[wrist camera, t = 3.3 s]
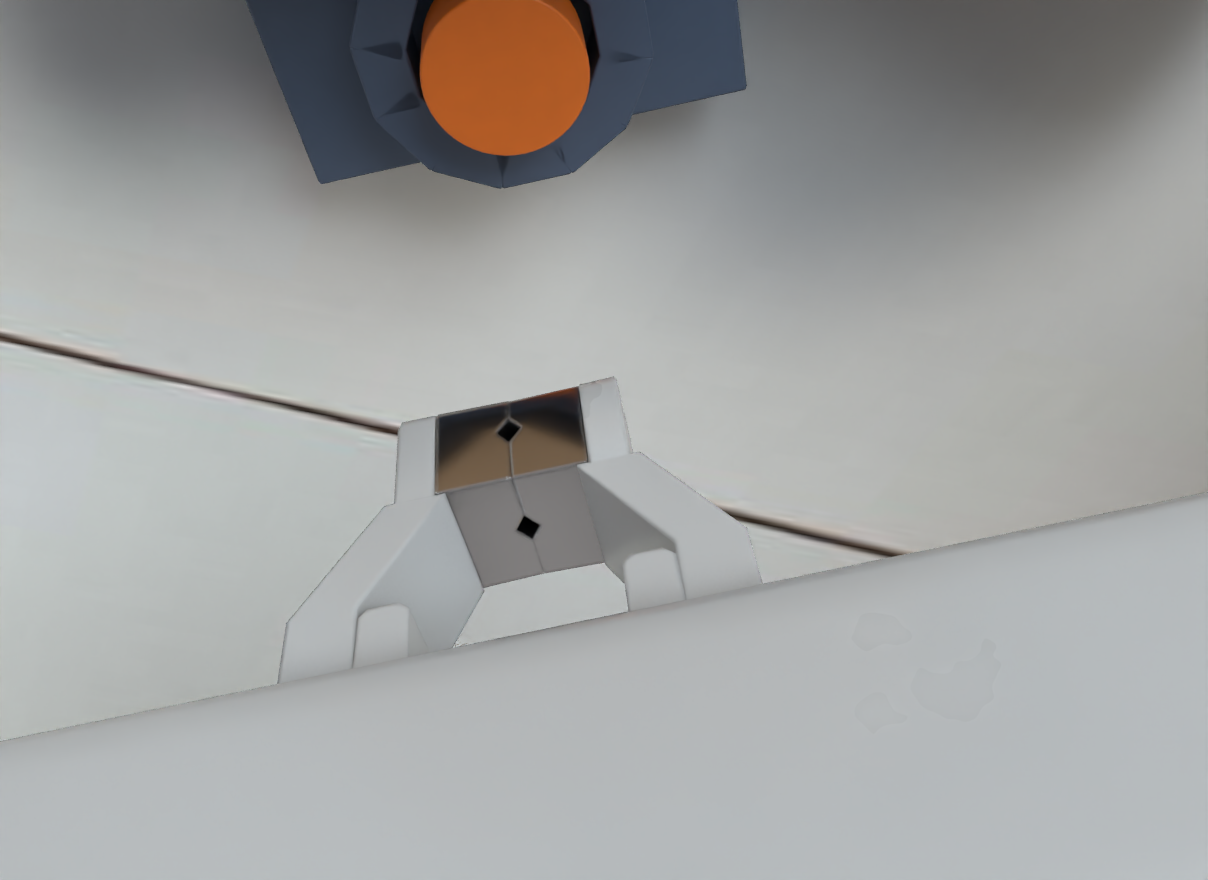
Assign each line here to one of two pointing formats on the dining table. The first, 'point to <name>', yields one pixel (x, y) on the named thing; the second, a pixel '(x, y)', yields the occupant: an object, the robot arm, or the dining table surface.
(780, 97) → the dining table surface
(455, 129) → the release button
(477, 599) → the robot arm
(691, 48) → the panel
